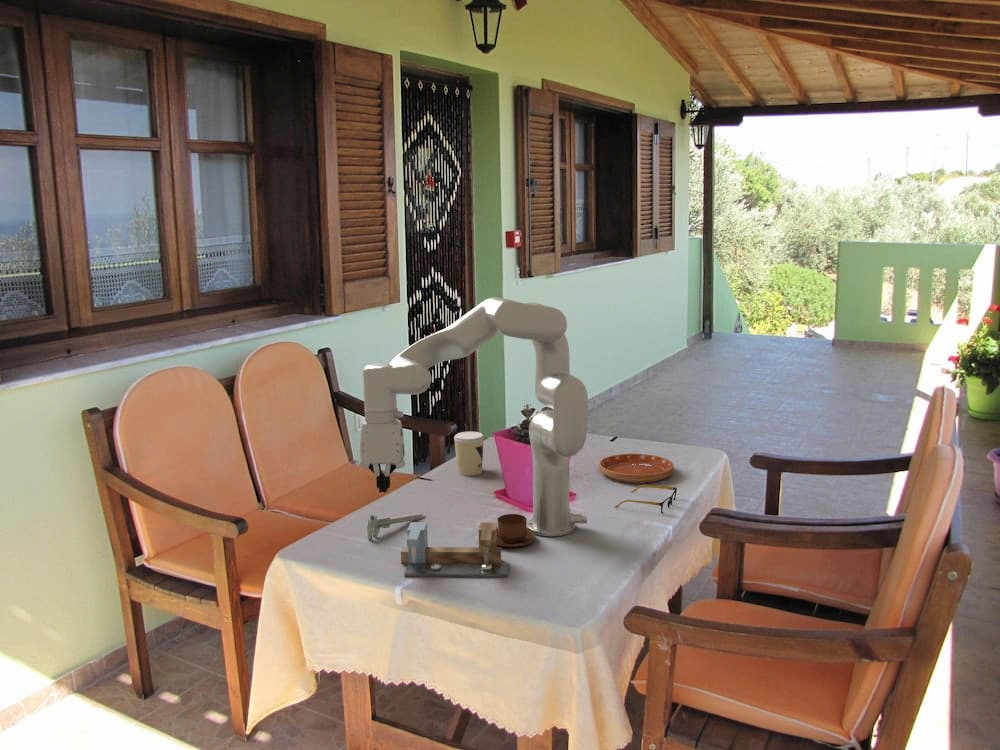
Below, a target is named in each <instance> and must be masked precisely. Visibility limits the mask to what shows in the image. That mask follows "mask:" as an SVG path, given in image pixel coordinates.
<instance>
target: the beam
mask: <svg viewBox="0 0 1000 750" xmlns="http://www.w3.org/2000/svg"><path fill="white" fill-rule="evenodd" d="M497 528H498V522H480V523H479V526H478V547H475V546H473V547H471V546H470V547H468V546H467V547H466V546H464V547H463V546H462V547H461V546H460V547H459V546H458V547H457V546H455V547H454V546H452V547H451V546H450V547H448V546H446V547H445V546H440V547H439V546H438V547H437V546H428V547H427V548H426V550H425V557H426V563H485V564H502V547H498V545H497ZM400 561H401V562H400V563H401V564H407V565H408V563H409V556H408V546H402V548H401V550H400Z"/></svg>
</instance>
